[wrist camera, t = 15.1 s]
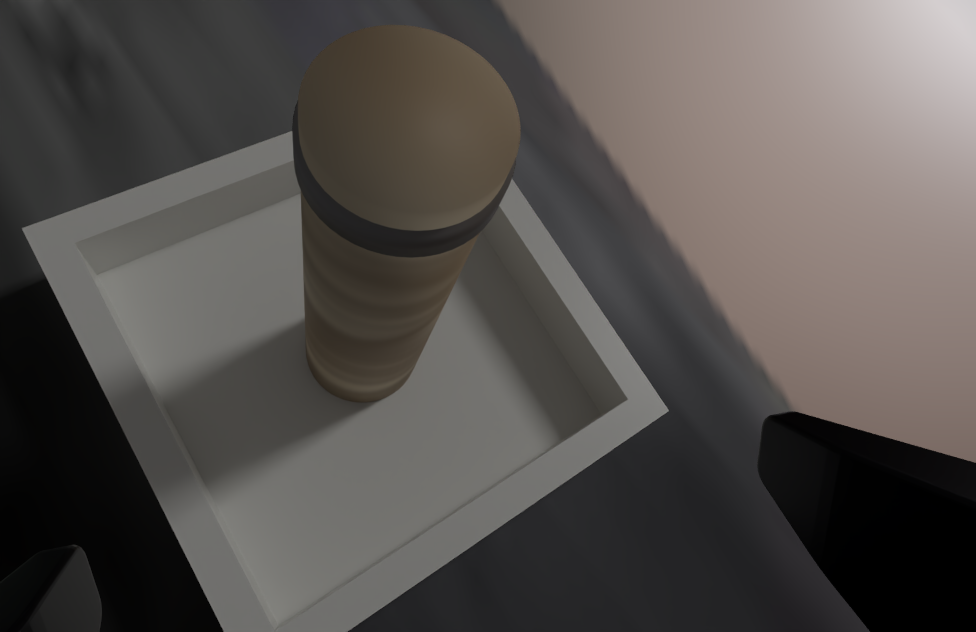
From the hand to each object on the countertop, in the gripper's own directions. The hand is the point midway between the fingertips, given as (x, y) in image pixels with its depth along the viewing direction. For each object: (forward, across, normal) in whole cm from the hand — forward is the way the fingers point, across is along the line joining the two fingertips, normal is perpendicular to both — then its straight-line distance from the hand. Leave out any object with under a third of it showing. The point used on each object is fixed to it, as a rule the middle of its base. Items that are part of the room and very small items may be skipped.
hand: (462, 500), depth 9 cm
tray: (+14, +1, +4) cm, 15 cm away
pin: (+14, 0, +4) cm, 14 cm away
